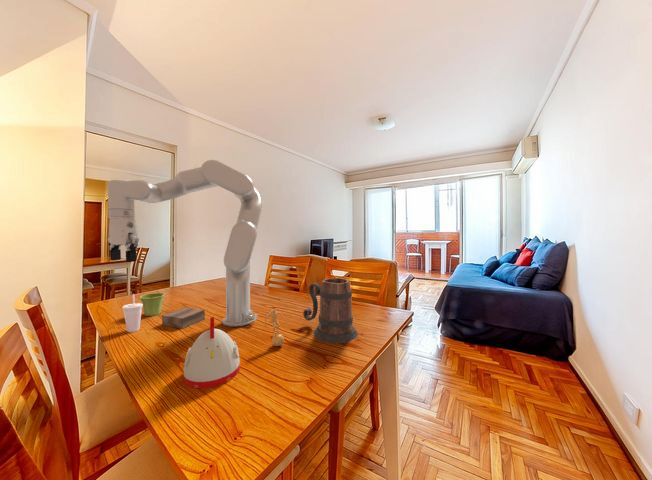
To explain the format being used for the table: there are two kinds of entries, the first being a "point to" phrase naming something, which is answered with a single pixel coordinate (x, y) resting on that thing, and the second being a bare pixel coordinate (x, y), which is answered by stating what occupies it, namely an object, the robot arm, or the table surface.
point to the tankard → (332, 311)
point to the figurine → (277, 338)
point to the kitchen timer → (211, 359)
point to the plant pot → (152, 303)
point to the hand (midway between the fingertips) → (123, 260)
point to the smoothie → (132, 315)
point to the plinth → (183, 317)
